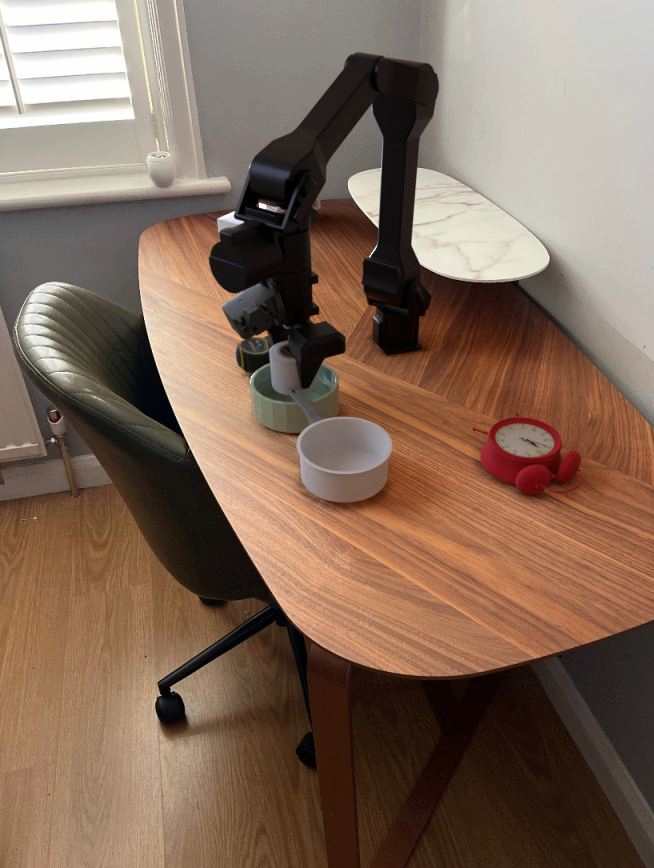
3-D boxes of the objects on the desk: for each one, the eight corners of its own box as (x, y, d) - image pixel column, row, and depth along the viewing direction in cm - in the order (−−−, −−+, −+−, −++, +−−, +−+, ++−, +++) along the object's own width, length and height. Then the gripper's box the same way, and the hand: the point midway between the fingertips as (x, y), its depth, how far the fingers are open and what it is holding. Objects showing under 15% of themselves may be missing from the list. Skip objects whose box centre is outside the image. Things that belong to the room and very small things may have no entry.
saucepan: (329, 410, 104) (328, 376, 100) (408, 491, 92) (411, 454, 88) (253, 434, 100) (250, 399, 96) (326, 522, 87) (325, 485, 83)
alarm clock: (524, 405, 100) (607, 439, 88) (524, 447, 103) (604, 486, 91) (461, 425, 96) (539, 464, 84) (463, 469, 99) (538, 512, 87)
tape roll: (309, 369, 105) (308, 336, 102) (323, 391, 100) (322, 357, 97) (266, 376, 103) (264, 343, 100) (278, 399, 99) (276, 365, 95)
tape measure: (286, 375, 112) (285, 352, 110) (241, 381, 111) (239, 359, 108) (276, 353, 117) (275, 331, 115) (233, 359, 116) (231, 337, 113)
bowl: (323, 383, 111) (322, 353, 107) (350, 426, 102) (350, 394, 99) (244, 397, 107) (241, 366, 104) (265, 443, 99) (262, 411, 96)
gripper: (197, 251, 94) (212, 361, 104) (259, 308, 82) (269, 427, 92) (277, 235, 98) (284, 343, 108) (347, 288, 86) (348, 403, 96)
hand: (294, 377), depth 101 cm, fingers closed on tape roll, 6 cm apart
